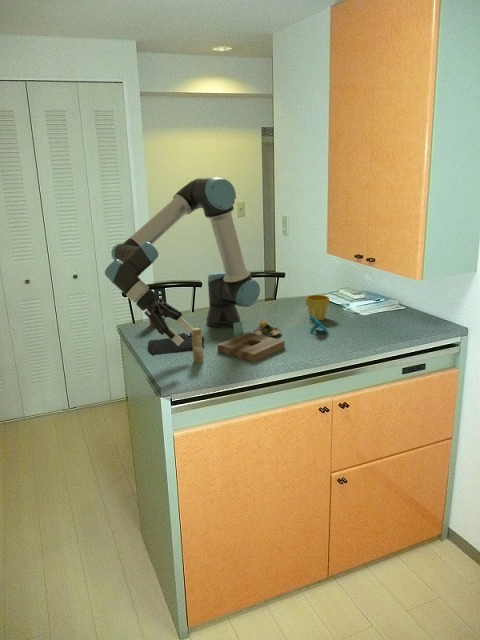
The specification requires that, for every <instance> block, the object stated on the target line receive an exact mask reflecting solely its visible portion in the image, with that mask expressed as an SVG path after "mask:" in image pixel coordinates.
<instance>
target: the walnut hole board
mask: <svg viewBox="0 0 480 640" xmlns="http://www.w3.org/2000/svg"><path fill="white" fill-rule="evenodd" d="M285 343H286V341H285V340H284V339H283V340H282V339H278V338H275V337H267V336H262V335H258V334H254V333H253V332H250V331H248V332H246V333H243V335H241V336H238V337H235V338H234V337H233V338H230V339H228V340H226V341H223V342H220V343H217V344H216V345H217V352H218V353H220V354H224V355H227V356H228V355H229V356H230V357H235V358H238V359H241V360H245V361H248V362H252V363H255V362H257V361H260V360H261V358H262V359H264V358H266V357H268V356H271V355H273V354H274V352H275V353H277V352H279V351H282V350H284V349H286V348H285ZM281 349H282V350H281ZM272 353H273V354H272ZM270 354H271V355H270ZM259 359H260V360H259Z"/></svg>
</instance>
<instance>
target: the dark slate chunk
mask: <svg viewBox="0 0 480 640" xmlns="http://www.w3.org/2000/svg"><path fill="white" fill-rule="evenodd" d="M177 334H178V335H179V336H180V337H181V338H182V339H183V340H184V341H183V342H182V343H181V344H180V345H179V346H178V345H177V344H175V343H174V342H173V341H172V340H171V339H170V338H169V337H167V338H161V339H159V338H158V339H150V340H148V343H147V346H148V351H149V353H150V354H152V355H153V356H159V355H168V354H175V353H176V354H177V353H185V352H193V347H192V333H191V332H190V333H189V334H188V333H187V334H186V333H185V332H182V333H177ZM205 341H206V339H205V337H204V336H203V335H202V346H203V349H206V346H204V344H205Z"/></svg>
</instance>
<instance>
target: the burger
mask: <svg viewBox="0 0 480 640" xmlns="http://www.w3.org/2000/svg"><path fill="white" fill-rule="evenodd" d="M268 323H269V321H268V320H261V322H260V323H259V326H258V328H255V329H254V330H252V333H254V334H258V335H262V336H267V337H271V338H273V337H276V336H278V335H279V334H280V333H282V330H281V329H280V328H278V327H273V326H271V325H270V324H268Z"/></svg>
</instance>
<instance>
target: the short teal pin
mask: <svg viewBox="0 0 480 640" xmlns="http://www.w3.org/2000/svg"><path fill="white" fill-rule="evenodd" d="M232 327H233V338H235V337H238V336H241V335H243V334H244V333H243V332H244V331H243V330H244V329H243V328H244V327H243V322H241V321H240V322H235V323H233V326H232Z"/></svg>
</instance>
